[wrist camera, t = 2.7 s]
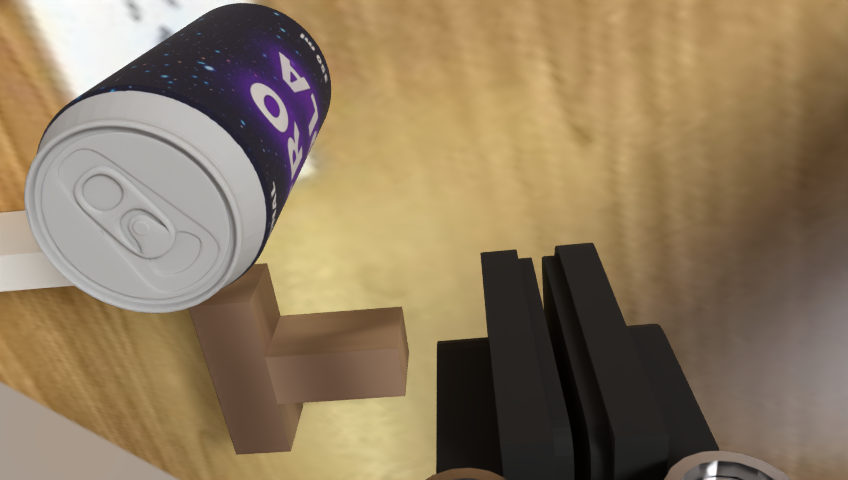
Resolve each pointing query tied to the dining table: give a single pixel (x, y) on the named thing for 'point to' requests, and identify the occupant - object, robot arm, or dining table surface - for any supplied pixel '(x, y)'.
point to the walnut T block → (292, 359)
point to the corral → (23, 257)
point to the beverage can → (179, 161)
